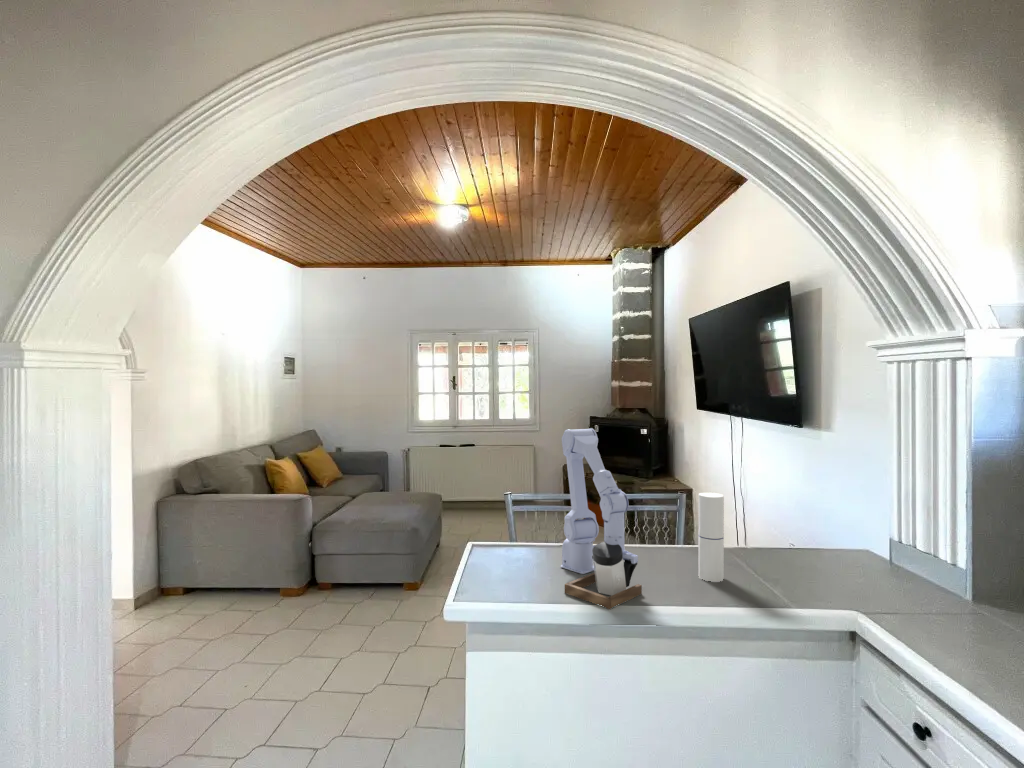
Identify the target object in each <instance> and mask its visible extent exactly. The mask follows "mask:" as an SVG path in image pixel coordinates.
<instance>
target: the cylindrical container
mask: <svg viewBox="0 0 1024 768" xmlns="http://www.w3.org/2000/svg"><path fill="white" fill-rule="evenodd" d="M724 501H725V497H724V494H722V493H718V492H711V491H710V492H699V493H698V548H697V549H698V551H697V552H698V554H697V555H698V557H697V558H698V569H697V570H698V576H699V577H698V579H699V580H702V579H703V580H702V581H704V580H705V582H708V581H711V582H710V583H721V582H723V581H724V580H723V579H724V578H725V577H724V576H725V575H724V574H725V573H724V568H725V566H724V565H725V564H724V563H725V561H724V559H725V558H724V557H725V554H724V552H725V550H724V549H725V548H724V547H725V544H724V543H725V539H724V538H725V537H724V536H725V535H724V534H725V533H724V531H725V530H724V529H725V527H724V525H725V523H724V522H725V521H724V520H725V509H724V508H725V507H724V506H725V502H724ZM720 581H721V582H720Z"/></svg>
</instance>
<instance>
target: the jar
mask: <svg viewBox="0 0 1024 768" xmlns="http://www.w3.org/2000/svg"><path fill="white" fill-rule="evenodd" d="M594 545H595V546H594ZM594 545H593V546H594V548H593V550H592V551H593V565H594V570H593V573H594V572H595V581H596V583H595V585H596V589H597V593H598V594H601V595H605V596H606V595H607V596H612V595H615V594H617V593H619V592H621V591H624V590H626V589H627V587H626V581H625V570H624V562H625V560H623V553H622V548H621V546H620V545H610V544H607V543H606V542H604V541H602V542H598V543H597V544H594Z"/></svg>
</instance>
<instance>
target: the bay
mask: <svg viewBox="0 0 1024 768" xmlns="http://www.w3.org/2000/svg"><path fill="white" fill-rule="evenodd" d="M593 584H596V581H595V572H594V571H593V572H592V573H589V574H585V575H584V576H582V577H579V578H576V579H574V580H572V581H569V582H567V583H564V594H566V595H569V596H572V597H574V596H575V598H577V599H579V600H583V601H585V600H586V602H588V601H589V602H588V603H591V602H592V603H591V604H594V603H595V604H594V605H596V604H599V605H602V606H604V607H606V608H605V609H607V610H611V608H612V607H614V606H616V605H618V604H620V605H622V604H623V602H624V603H626V602H628V601H630V600H632V599H634V597H635V598H636V596H637V597H638V595H639V596H641V595H642V594H643V593H642V591H643V589H642V588H643V587H642V584H639V583H638V584H637V583H636V584H634V585H632V586H630V587H629V588H628V587H627V588H626V590H624V591H621V592H619V593H617V594H615V595H612V596H611V595H609V596H606V595H605V594H601V593H598V592H594V591H592V590H589V589H586V587H589V586H591V585H593ZM640 594H641V595H640ZM627 600H628V601H627ZM625 601H626V602H625ZM621 603H622V604H621ZM599 605H598V606H599ZM602 606H601V607H602ZM618 606H619V605H618ZM604 607H603V608H604ZM616 607H617V606H616ZM614 608H615V607H614ZM612 609H613V608H612Z"/></svg>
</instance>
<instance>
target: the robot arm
mask: <svg viewBox="0 0 1024 768" xmlns="http://www.w3.org/2000/svg"><path fill="white" fill-rule="evenodd" d="M598 443H599V438H598V434H597V431H596V430H595V429H594V428H592V427H590V428H580V429H579V428H578V429H565V430H564V431H563V434H562V436H561V446H562V453H563V456H564V457H565V459H566V466H567V468H566V469H567V478H568V487H569V488H568V489H569V497H570V498H569V499H570V506H571V507H570V508H571V510H569V512H568V513H567V514H566V515H565V516H564V526H563V533H564V536H565V538H566V539H564V541H563V542H562V544H561V545H562V546H561V565H560V568H563V569H566V570H568V571H571V572H575V573H578V574H581V575H587V574H588V573H590V572H594V563H593V551H592V550H593V548H594V546H595V545H596V544H594V542H595V541H596V538H597V537H598V536H599V531H600V526H599V524H598V522H597V516H596V514H595V512H594V511H592V510H590V509H589V504H588V496H587V488H586V487H587V486H586V479H585V470H584V462H583V460H584V458H585V460H586V462H587V463H588V465H589V467H590V470H591V471H592V472H593V477H592V481H593V483H594V486H595V488H596V490H597V492H598V494H599V497H600V501H599V507H600V511H601V517H602V520H603V542H606V543H607V544H610V545H620V546H621V548H622V553H623V560H624V570H625V581H626V588H628V587H629V586H630V585H631V584H630V583H631V579H632V577H633V573H634V571H635V569H636V567H637V565H638V563H639V555H637V554H634V553H632V552H630V551H628V550H626V548H625V513H626V512H627V511H628V510H629V499H628V495H627V494H626V493H625V492H624V491H622V489H621V488H619V487H618V485H617V483H616V481H615V479H614V477H613V475H612V472H611V471H610V470H607V469H606V468H605V466H604V463H603V460H602V458H601V457H602V456H601V454H600V452H599V449H598Z"/></svg>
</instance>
